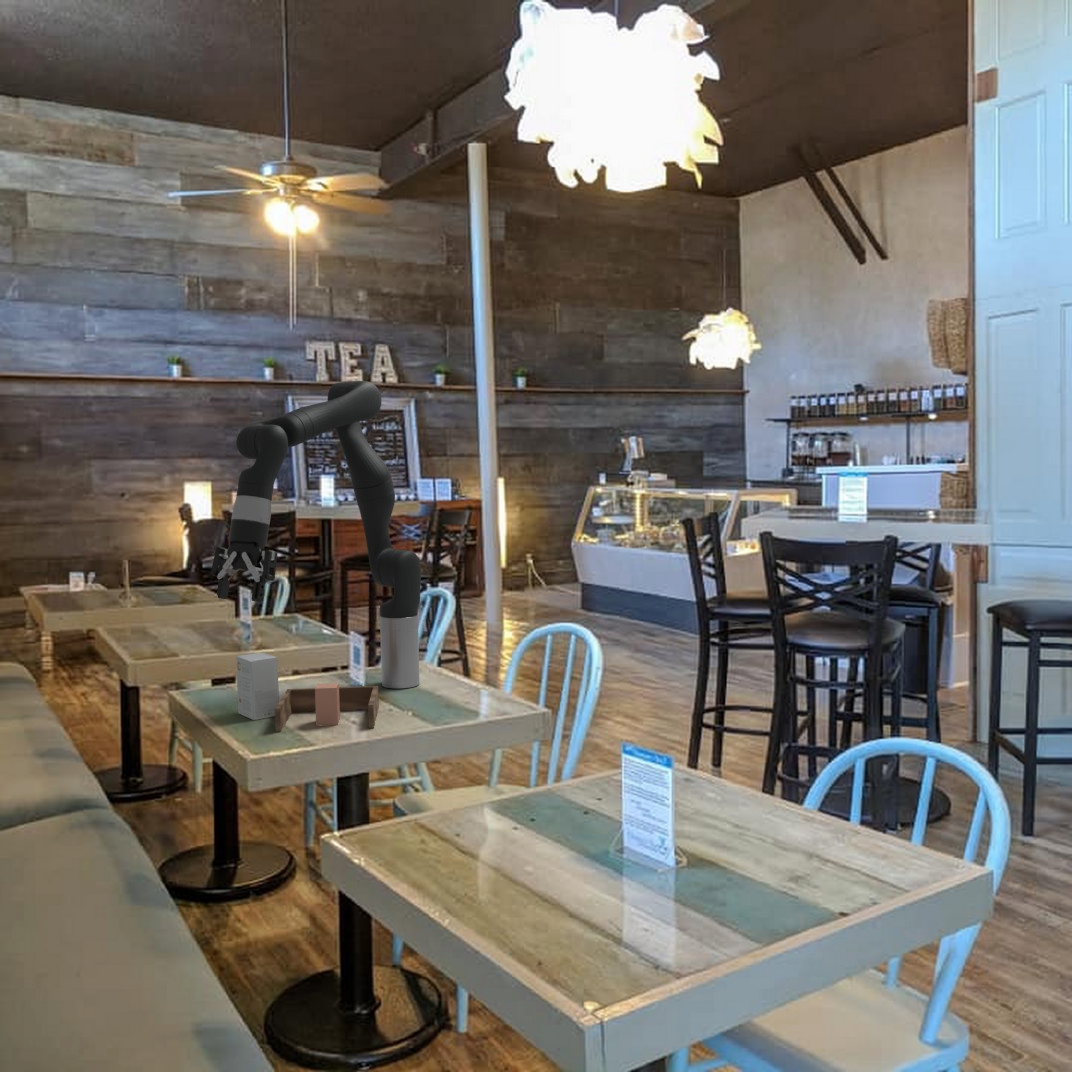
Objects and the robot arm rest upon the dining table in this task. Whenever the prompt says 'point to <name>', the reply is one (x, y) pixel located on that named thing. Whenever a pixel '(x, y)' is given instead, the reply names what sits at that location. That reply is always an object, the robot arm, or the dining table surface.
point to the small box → (257, 685)
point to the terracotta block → (327, 704)
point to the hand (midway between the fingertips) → (238, 600)
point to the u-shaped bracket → (347, 699)
